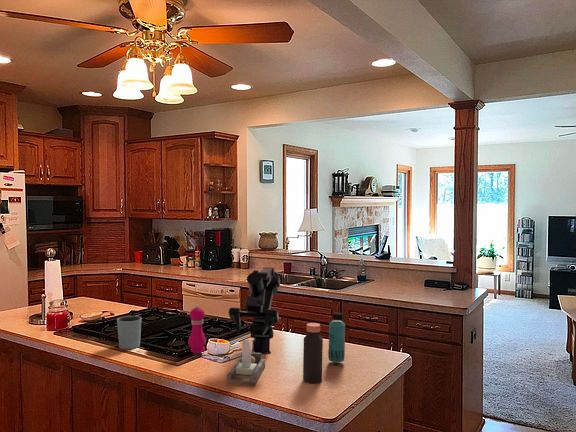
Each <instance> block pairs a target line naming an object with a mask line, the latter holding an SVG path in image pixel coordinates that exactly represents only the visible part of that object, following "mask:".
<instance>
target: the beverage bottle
mask: <svg viewBox="0 0 576 432" xmlns="http://www.w3.org/2000/svg"><path fill="white" fill-rule="evenodd" d="M343 318H344V317H343V313H342V312H338V311H335V312H332V318H331V319H332V321H330V323H329V324H328V325H329V328H328V329H329V330H328V350H327V351H328V352H327V357H328V361H330V362H332V363H342V362H344V361H345V359H346V358H345V353H346V339H345V338H346V337H345V336H346V324H345V322H344V321H342V320H343Z"/></svg>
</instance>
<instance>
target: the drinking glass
mask: <svg viewBox="0 0 576 432" xmlns="http://www.w3.org/2000/svg"><path fill="white" fill-rule="evenodd" d="M142 319H143V318H142V316H139V315H126V316H121V317H118V318H116V324H117V325H116V327H117V335H118V337H117V340H118V347H119V349H121V350H133V349H134V350H135V349H137V347H138V348H139V347H140V346H141V337H142V336H141V335H142V334H141V331H142Z"/></svg>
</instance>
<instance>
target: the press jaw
mask: <svg viewBox="0 0 576 432" xmlns="http://www.w3.org/2000/svg"><path fill="white" fill-rule="evenodd" d="M241 343H242V344H241V347H242V348H241V358H242V363H239V364H238V366H237V367H236V374H243V375H252V374H253V372H254V371H255V369H256V367H257V364H252V363H251V352H252V340H250V339H244V340H242V341H241Z"/></svg>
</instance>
